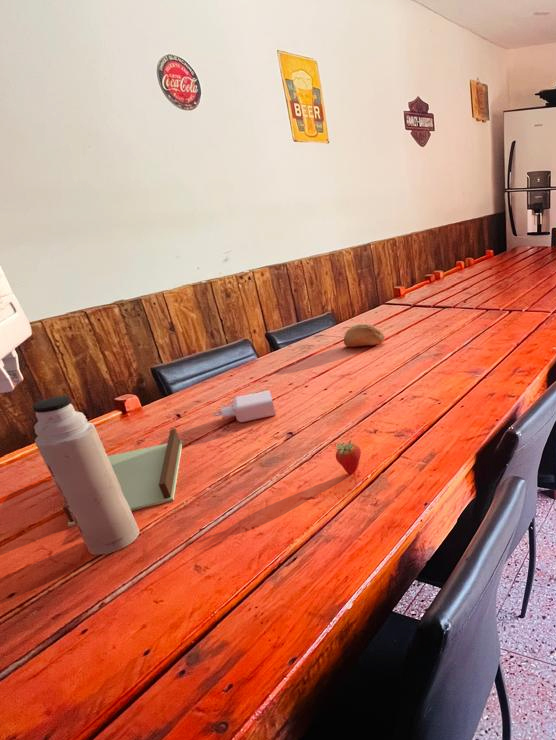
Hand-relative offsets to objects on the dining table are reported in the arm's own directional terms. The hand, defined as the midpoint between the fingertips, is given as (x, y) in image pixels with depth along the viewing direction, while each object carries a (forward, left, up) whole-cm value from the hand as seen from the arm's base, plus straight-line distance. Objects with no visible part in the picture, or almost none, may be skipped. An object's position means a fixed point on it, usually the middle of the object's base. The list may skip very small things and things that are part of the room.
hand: (11, 387), depth 70 cm
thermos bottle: (0, +10, -34) cm, 36 cm away
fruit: (+44, +12, -34) cm, 57 cm away
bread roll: (+67, +99, -34) cm, 124 cm away
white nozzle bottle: (+24, +55, -34) cm, 69 cm away
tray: (0, +33, -34) cm, 47 cm away
